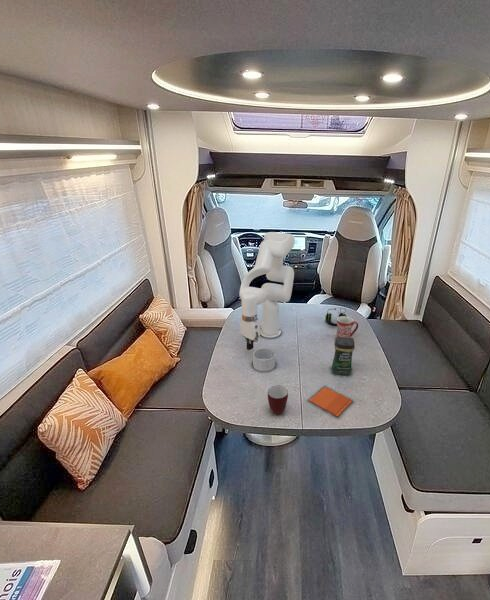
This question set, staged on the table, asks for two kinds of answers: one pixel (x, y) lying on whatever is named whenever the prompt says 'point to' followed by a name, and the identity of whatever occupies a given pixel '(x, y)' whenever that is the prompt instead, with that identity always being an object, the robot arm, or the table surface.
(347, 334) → the mug
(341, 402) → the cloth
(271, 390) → the mug
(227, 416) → the table surface
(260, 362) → the pot
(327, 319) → the headphones
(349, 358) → the coffee jar
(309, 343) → the table surface
